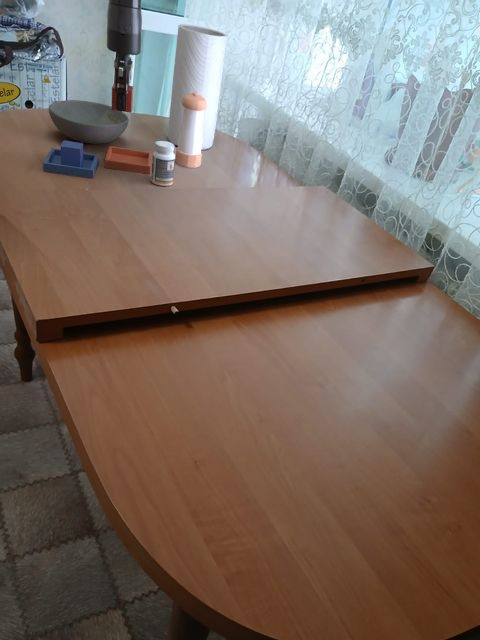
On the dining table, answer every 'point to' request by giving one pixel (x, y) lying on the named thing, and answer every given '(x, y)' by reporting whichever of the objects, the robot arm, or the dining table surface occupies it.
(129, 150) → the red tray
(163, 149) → the pill bottle
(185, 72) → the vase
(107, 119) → the bowl
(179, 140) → the salt shaker
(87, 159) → the blue tray
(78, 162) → the blue block
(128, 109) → the red block
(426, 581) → the dining table surface
